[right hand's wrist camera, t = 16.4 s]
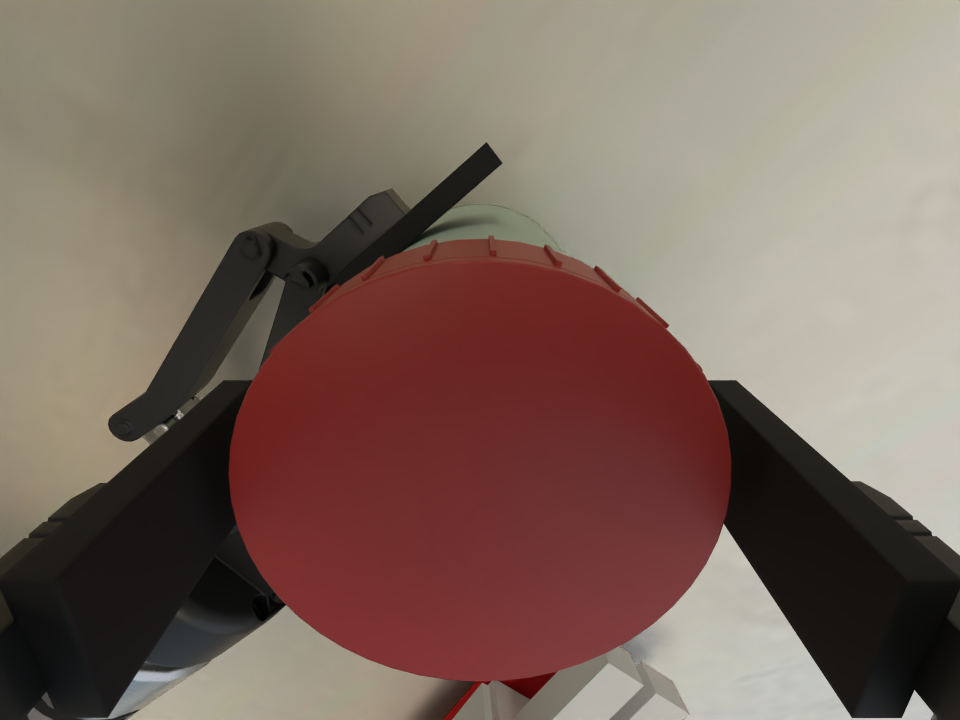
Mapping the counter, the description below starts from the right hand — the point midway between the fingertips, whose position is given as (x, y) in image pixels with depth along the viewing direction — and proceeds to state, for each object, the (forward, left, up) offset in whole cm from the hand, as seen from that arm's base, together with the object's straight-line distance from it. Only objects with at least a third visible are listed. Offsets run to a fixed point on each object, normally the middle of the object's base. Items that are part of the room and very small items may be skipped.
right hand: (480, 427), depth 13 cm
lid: (0, 0, +3) cm, 3 cm away
